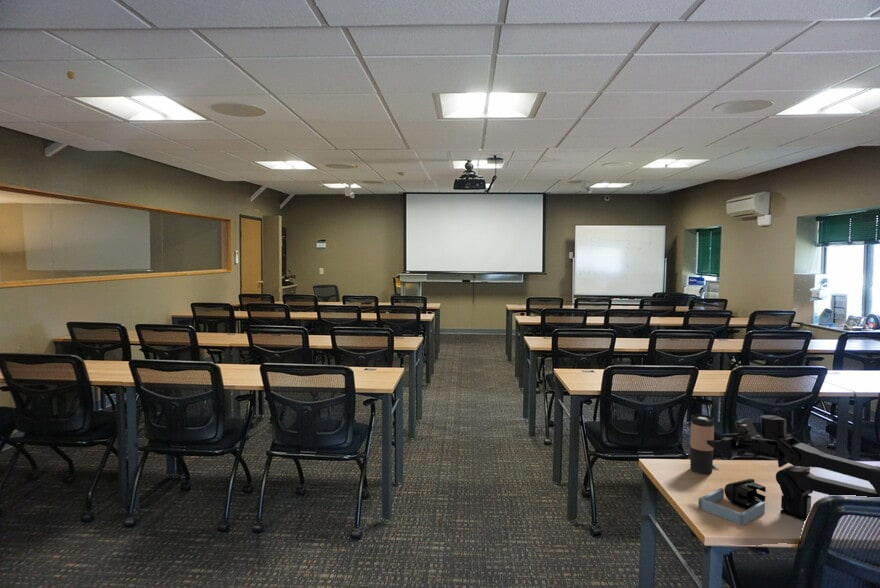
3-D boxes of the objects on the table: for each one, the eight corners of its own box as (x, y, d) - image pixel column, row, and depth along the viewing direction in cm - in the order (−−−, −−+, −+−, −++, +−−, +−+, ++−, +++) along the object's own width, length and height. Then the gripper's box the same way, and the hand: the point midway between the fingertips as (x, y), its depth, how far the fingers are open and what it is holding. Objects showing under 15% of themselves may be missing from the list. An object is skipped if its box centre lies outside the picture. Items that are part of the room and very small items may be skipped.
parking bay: (764, 512, 153) (764, 502, 153) (743, 525, 145) (743, 515, 145) (720, 496, 164) (720, 487, 164) (698, 508, 156) (698, 498, 156)
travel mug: (692, 465, 191) (693, 413, 190) (714, 470, 186) (716, 416, 186) (687, 471, 185) (688, 417, 184) (710, 476, 180) (712, 421, 180)
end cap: (744, 496, 165) (745, 475, 165) (766, 505, 158) (766, 484, 158) (723, 501, 161) (724, 480, 161) (744, 510, 154) (745, 489, 154)
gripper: (774, 416, 165) (726, 410, 178) (746, 428, 155) (697, 420, 168) (777, 450, 165) (728, 442, 178) (749, 464, 155) (700, 454, 168)
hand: (714, 438), depth 173 cm, fingers open, 9 cm apart
